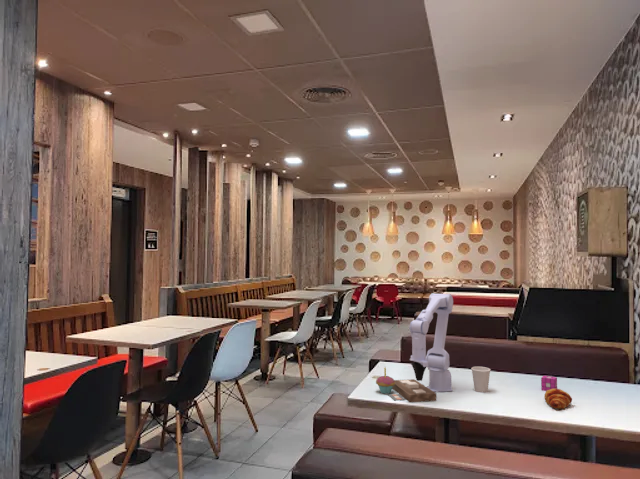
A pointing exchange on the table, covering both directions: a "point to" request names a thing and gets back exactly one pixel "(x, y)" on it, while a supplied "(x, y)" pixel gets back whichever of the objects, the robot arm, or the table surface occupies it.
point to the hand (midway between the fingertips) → (419, 380)
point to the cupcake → (385, 383)
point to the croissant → (557, 398)
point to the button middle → (412, 385)
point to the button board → (411, 395)
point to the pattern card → (396, 397)
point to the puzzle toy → (548, 383)
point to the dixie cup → (481, 378)
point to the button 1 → (404, 381)
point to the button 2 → (419, 391)
